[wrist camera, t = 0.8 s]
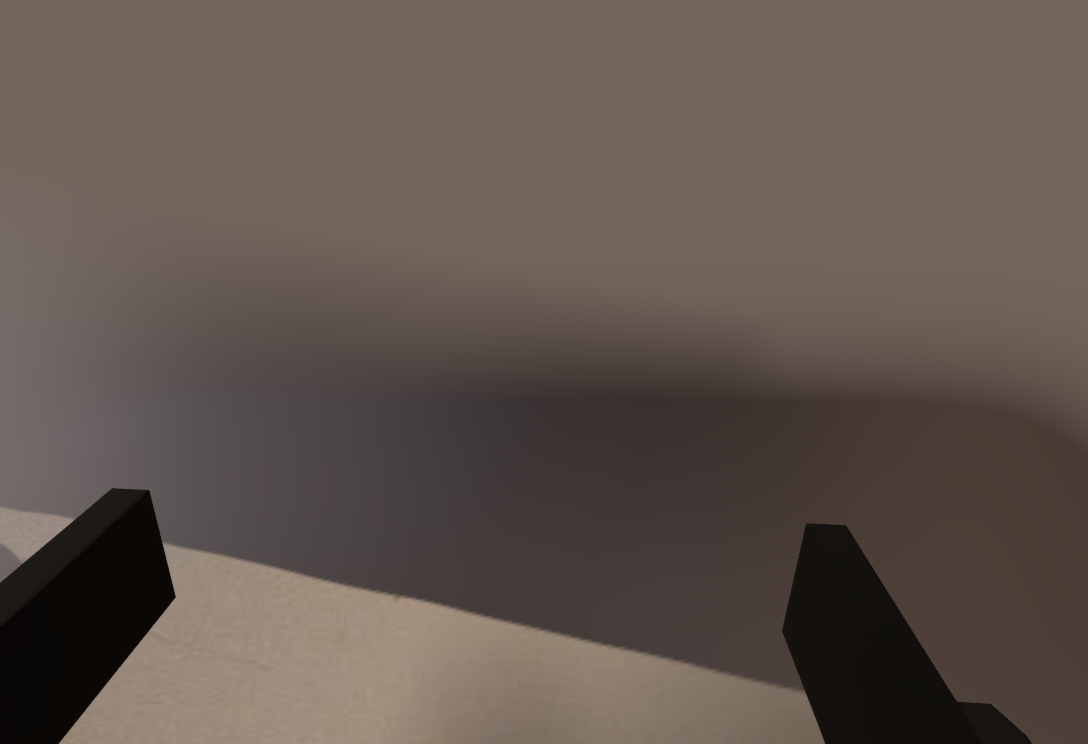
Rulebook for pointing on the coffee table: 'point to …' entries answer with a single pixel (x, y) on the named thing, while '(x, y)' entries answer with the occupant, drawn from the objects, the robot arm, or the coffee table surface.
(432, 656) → the coffee table surface
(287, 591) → the coffee table surface
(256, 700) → the coffee table surface
